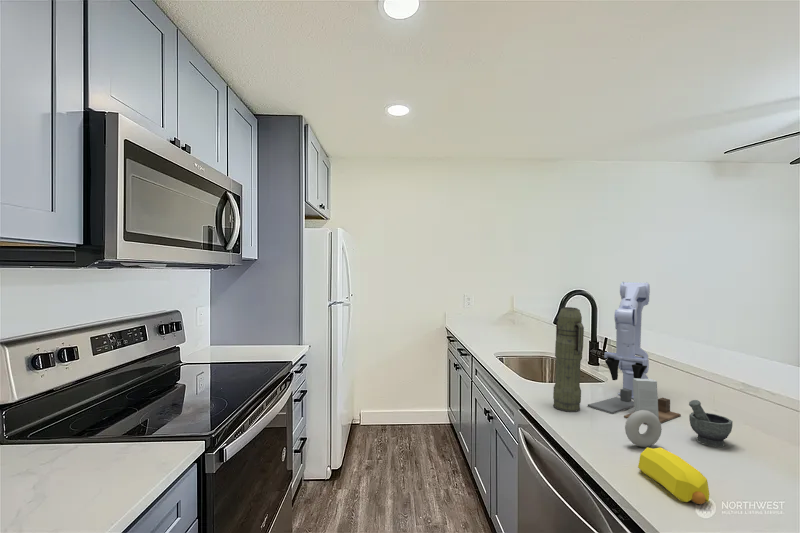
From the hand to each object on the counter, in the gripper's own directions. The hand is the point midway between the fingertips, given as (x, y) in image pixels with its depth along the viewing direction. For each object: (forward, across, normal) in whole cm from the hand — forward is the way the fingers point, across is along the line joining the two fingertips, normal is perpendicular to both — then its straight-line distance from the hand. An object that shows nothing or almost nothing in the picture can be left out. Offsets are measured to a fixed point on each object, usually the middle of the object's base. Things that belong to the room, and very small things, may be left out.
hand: (625, 382), depth 144 cm
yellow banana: (+10, +34, -41) cm, 55 cm away
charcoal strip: (+10, -5, +1) cm, 11 cm away
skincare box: (+9, +9, -3) cm, 13 cm away
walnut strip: (+10, +8, +2) cm, 13 cm away
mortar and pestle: (+10, +27, -6) cm, 30 cm away
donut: (+10, +20, -25) cm, 34 cm away
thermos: (+10, -12, -16) cm, 22 cm away
